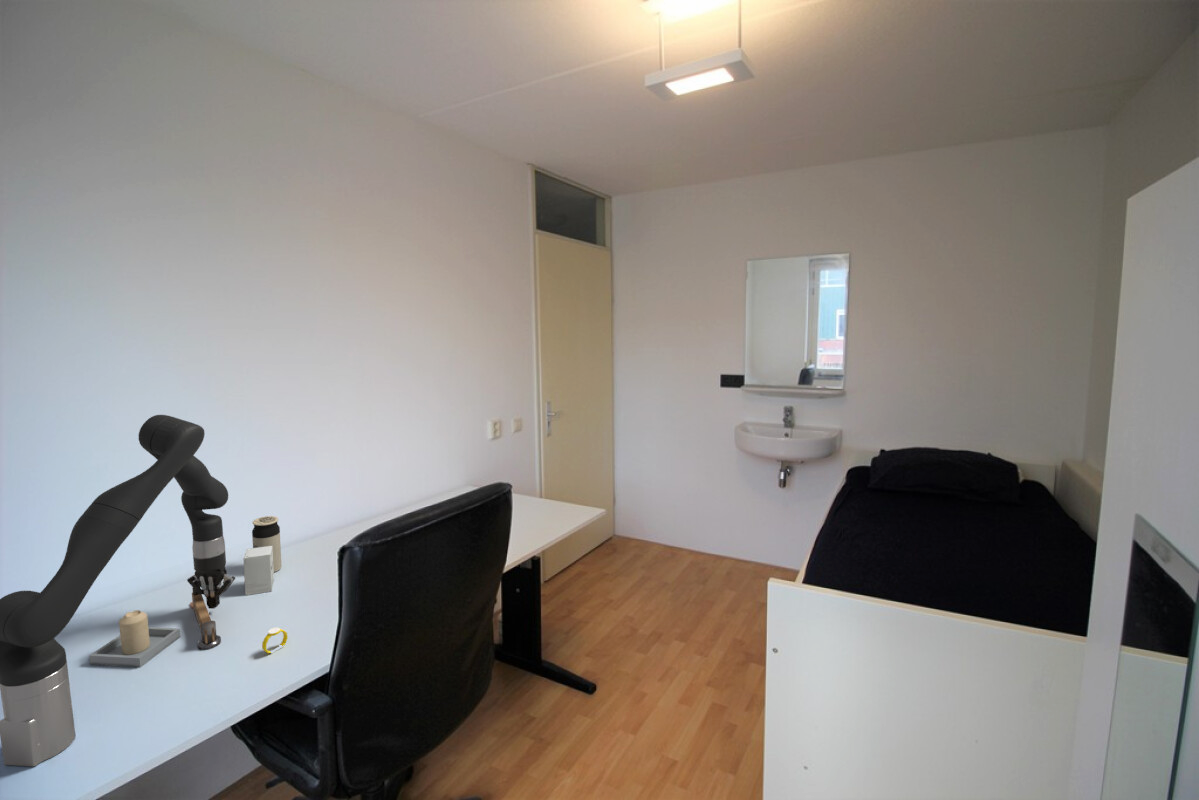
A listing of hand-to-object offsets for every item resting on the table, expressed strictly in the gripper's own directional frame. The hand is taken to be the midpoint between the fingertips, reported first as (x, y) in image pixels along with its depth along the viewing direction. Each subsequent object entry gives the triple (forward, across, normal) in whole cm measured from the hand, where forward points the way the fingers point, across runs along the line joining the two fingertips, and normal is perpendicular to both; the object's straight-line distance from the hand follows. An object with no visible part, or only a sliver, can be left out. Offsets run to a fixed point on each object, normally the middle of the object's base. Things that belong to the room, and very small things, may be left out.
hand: (213, 607), depth 156 cm
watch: (+2, -27, +15) cm, 31 cm away
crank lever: (+1, -2, +6) cm, 7 cm away
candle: (+2, +7, +18) cm, 20 cm away
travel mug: (+2, +1, -27) cm, 27 cm away
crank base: (+2, -1, +6) cm, 6 cm away
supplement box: (+2, -4, -15) cm, 16 cm away
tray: (+2, +7, +18) cm, 19 cm away
